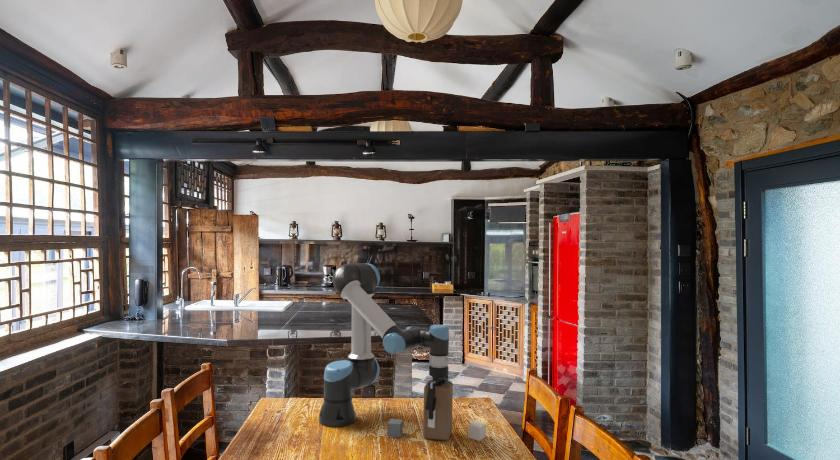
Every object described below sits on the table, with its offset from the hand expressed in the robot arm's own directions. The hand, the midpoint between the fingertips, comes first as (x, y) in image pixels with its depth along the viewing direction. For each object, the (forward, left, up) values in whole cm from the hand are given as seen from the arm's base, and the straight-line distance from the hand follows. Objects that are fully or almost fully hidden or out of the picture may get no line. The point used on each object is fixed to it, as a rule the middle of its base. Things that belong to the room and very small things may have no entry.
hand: (437, 422), depth 188 cm
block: (0, 0, -5) cm, 5 cm away
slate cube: (-15, -7, -5) cm, 17 cm away
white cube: (+14, +6, -5) cm, 16 cm away
